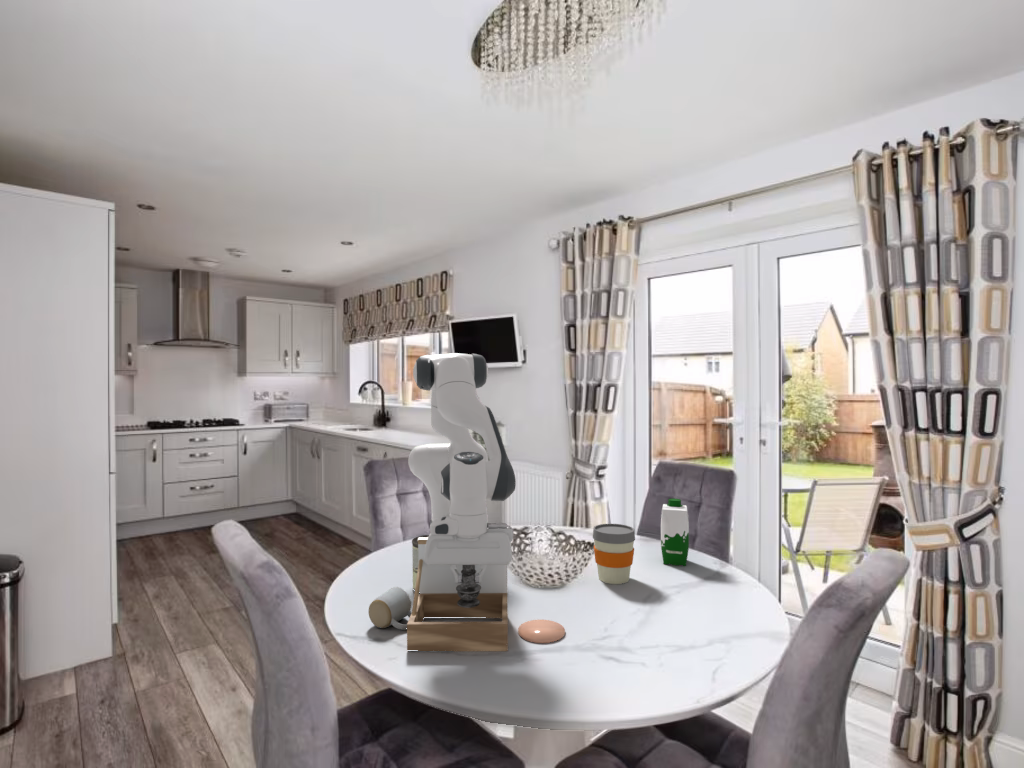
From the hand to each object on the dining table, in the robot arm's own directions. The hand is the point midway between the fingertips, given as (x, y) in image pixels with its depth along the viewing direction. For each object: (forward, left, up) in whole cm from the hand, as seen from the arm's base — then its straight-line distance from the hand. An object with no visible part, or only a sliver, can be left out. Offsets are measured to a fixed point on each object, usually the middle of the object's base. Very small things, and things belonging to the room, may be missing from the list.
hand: (468, 582), depth 128 cm
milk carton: (-51, +64, -13) cm, 83 cm away
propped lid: (-4, -2, -7) cm, 8 cm away
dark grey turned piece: (0, 0, -5) cm, 5 cm away
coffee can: (-29, -13, -13) cm, 35 cm away
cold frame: (-1, -2, -12) cm, 13 cm away
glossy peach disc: (-1, +17, -12) cm, 21 cm away
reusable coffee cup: (-36, +41, -13) cm, 56 cm away
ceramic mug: (-7, -19, -13) cm, 24 cm away
